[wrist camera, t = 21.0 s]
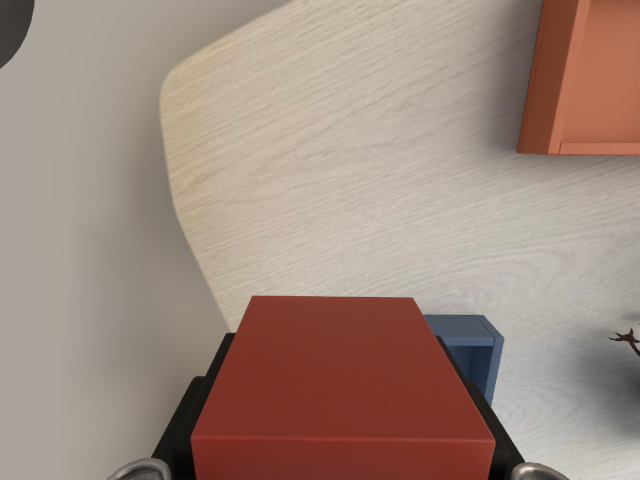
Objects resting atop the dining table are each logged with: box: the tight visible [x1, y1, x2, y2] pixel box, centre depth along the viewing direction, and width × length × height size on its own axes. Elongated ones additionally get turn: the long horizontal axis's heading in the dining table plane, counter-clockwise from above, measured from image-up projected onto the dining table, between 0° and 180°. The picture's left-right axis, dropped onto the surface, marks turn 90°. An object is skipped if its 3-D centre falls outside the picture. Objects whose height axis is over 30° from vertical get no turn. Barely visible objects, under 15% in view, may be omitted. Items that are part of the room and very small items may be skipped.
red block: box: [191, 296, 496, 480], centre depth 8 cm, size 5×5×5 cm
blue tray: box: [423, 315, 504, 407], centre depth 30 cm, size 14×14×4 cm
